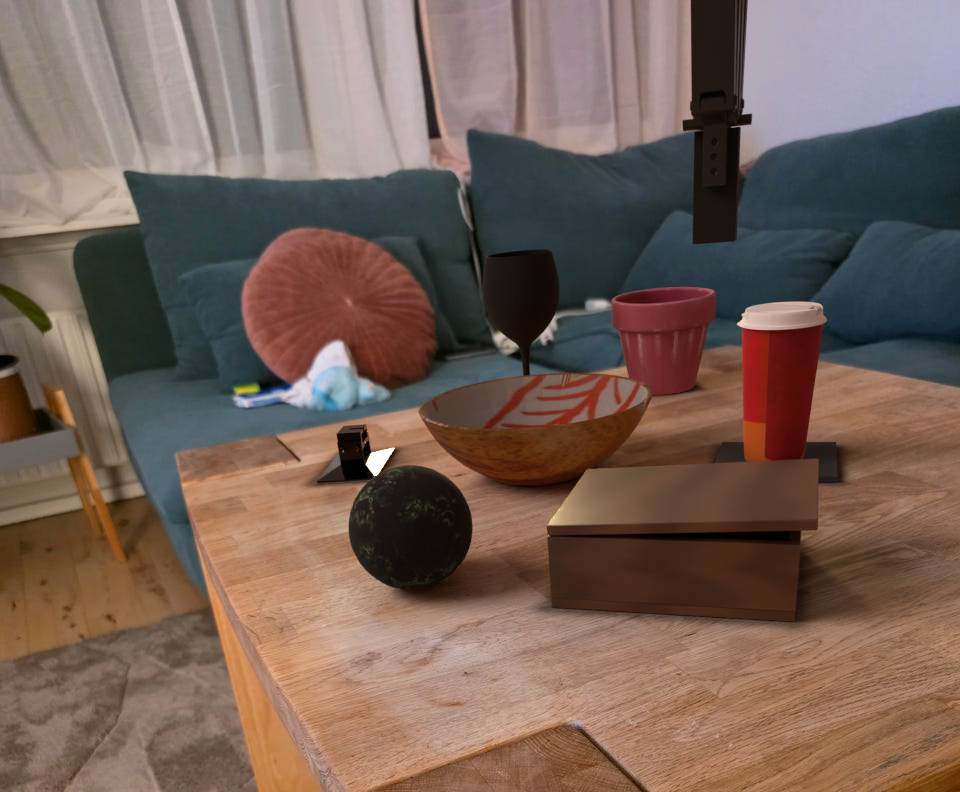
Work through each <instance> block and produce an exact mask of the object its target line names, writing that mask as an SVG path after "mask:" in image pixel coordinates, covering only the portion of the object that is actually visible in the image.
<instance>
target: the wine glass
mask: <svg viewBox="0 0 960 792" xmlns="http://www.w3.org/2000/svg"><path fill="white" fill-rule="evenodd" d="M482 297H483V304H484V308H485V310H486V314H487V316H488V318H489V320H490V322H491V323H492V325H493V326H494V327H495V328H496V329H497V330H498V331H499V332H500V333H501V334H502V335H503V336H504V337H505V338H507V339H509V340H510V341H512V342H513V343H514V344H515V345H517V346H518V348H519V352H520V357H521V365H522V374H523V375H522V376H526V375H531V368H530V367H531V365H530V352H531V346H532V344H533V343H534V342H535V341H536V340H537V339H538V338H539V337H540V336H542V334H543V333H544V332H545V331H546V329H547V328H548V327H549V326H550V325H551V323H552V321H553V320H554V317H555V315H556V312H557V310H558V306H559V303H560V302H559V301H560V279H559V273H558V268H557V265H556V262H555V258H554V254H553V252H552V250H551V249H549V248H535V249H522V250H511V251H503V252H497V253H492V254H488V255H486V257H485V262H484V268H483V276H482Z"/></svg>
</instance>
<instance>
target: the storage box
mask: <svg viewBox="0 0 960 792" xmlns="http://www.w3.org/2000/svg"><path fill="white" fill-rule="evenodd" d="M546 538H547V554H548V568H549V569H548V570H549V584H550V585H549V586H550V598H551V599H550V600H551V601H550V603H551V608H560V609H575V610H576V609H577V610H578V609H579V610H589V611H590V610H592V611H606V612H607V611H609V612H625V613H628V612H629V613H641V614H642V613H644V614H658V615H659V614H660V615H675V616H677V615H678V616H690V617H691V616H692V617H707V618H708V617H711V618H726V619H741V620H744V619H745V620H759V621H777V622H796V613H797V612H796V610H797V598H798V586H799V585H798V584H799V574H800V572H799V571H800V559H801V548H802V531H757V532H706V533H654V534H603V535H552V536H549V535H548V534H547V537H546Z"/></svg>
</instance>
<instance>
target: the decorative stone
mask: <svg viewBox="0 0 960 792" xmlns="http://www.w3.org/2000/svg"><path fill="white" fill-rule="evenodd" d="M473 529H474V527H473V517H472V512H471V508H470V506H469V503H468V501H467V499H466V497H465V496H464V494H463V492H462V490H461V489H460V488H459V487H458V485H456V483H455V482H454V481H452V480H451V479H450V478H449V477H447V476H446V475H445V474H443V473H441V472H440V471H438V470H436V469H433V468H431V467H427V466H423V465H415V464H406V465H398V466H393V467H391V468H387V469H385V470H382V471H381V473H379V474H378V475H376V476H374V477H373V478H372V479H371V480H370V481H366V483H365V484H364V485H363V487H361V489H360V490H359V492H358V493H357V495H356V497H355V498H354V501H353V502H352V505H351V508H350V513H349V518H348V538H349V543H350V547H351V549H352V551H353V554H354V555H355V557H356V560H357V561H358V562H359V564H360V566H361V567H362V568H363V569H364V570H365V571H366V572H367V573H368V574H369V575H370V576H372V577H373V578H374V579H376V580H377V581H379V582H380V583H382V584H383V585H385V586H388V587H390V588H393V589H398V590H406V591H415V590H416V591H421V590H426V589H429V588H432V587H435V586H437V585H440V584H441V583H442V582H445V580H447V579H448V578H450V577H451V576H452V575H454V573H455V572H456V571H457V570H458V569H459V568H460V567H461V565H462V563H463V562H464V560H465V559H466V558H467V555H468V553H469V550H470V547H471V545H472V544H471V543H472V540H473Z"/></svg>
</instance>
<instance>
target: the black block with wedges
mask: <svg viewBox="0 0 960 792" xmlns="http://www.w3.org/2000/svg"><path fill="white" fill-rule="evenodd" d="M336 440H337V442H336V444H337V451H338V454H337V455H336V456H335V457H334V459H333V460H332V461H331V463H330V464H329V465H328V466H327V467H326V469H325V470H324V471H323V472H322V473H321V474H320V476H319V477H318V479H317V480H316V481H315V483H316V484H317V485H323V484H326V485H327V484H339V483H340V484H341V483H355V482H357V483H358V482H368V481H370V480H371V479H372V478H373V477H374V476H376V475H378V474H379V473H381V472H383V471H384V468H385V467H386V465H387V464H388V462H389V460H390V458H391V457H392V455H393V454H394V452H395V451H396V449H395V447H381V448H371V441H370V434H369V430H368V425H367V424H351V425H343V426H342V427H341V428H340V429H339V430H338V431H337V432H336Z"/></svg>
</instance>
